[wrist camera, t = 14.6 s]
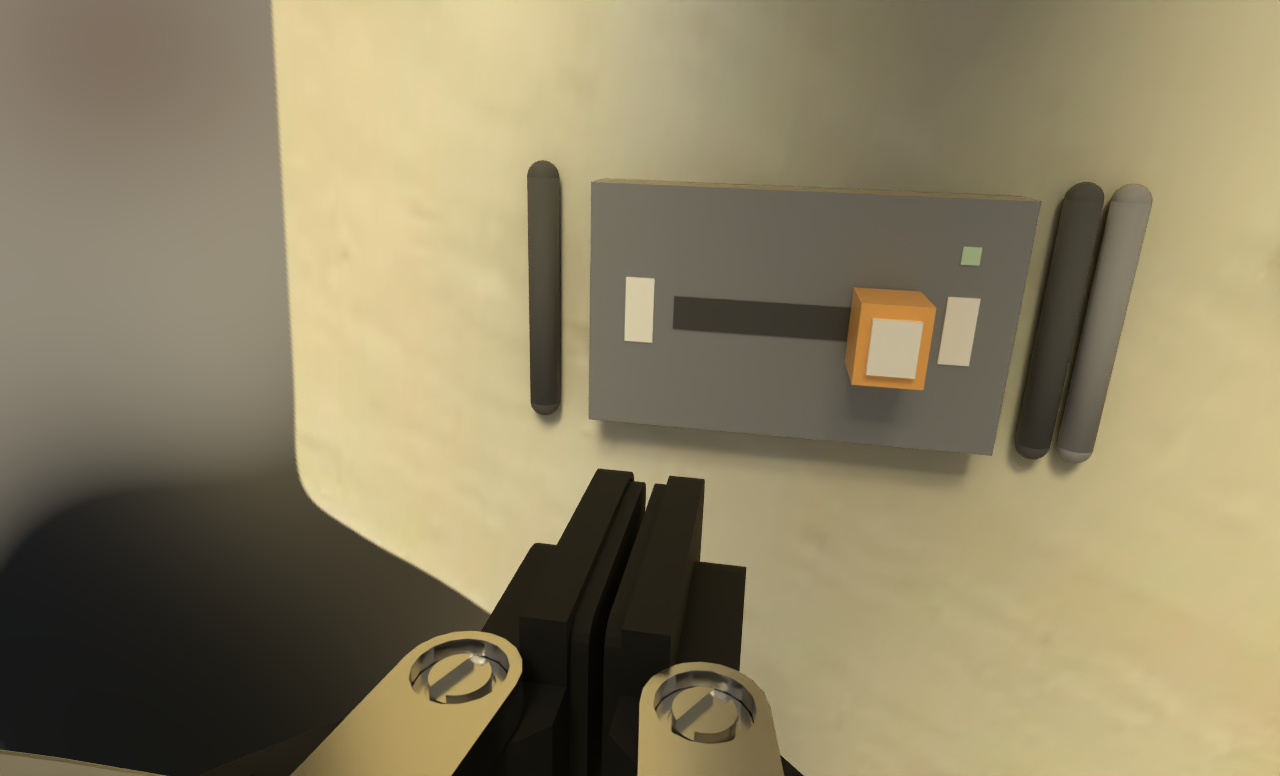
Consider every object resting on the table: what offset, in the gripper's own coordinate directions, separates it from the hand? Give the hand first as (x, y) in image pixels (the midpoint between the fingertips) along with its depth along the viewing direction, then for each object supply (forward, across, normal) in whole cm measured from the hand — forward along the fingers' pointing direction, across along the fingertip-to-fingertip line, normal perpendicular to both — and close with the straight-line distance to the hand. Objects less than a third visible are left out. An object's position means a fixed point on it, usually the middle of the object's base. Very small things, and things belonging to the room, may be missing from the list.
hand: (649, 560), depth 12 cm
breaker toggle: (+26, -7, +2) cm, 27 cm away
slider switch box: (+29, -3, +2) cm, 29 cm away
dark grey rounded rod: (+29, +10, +2) cm, 31 cm away
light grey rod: (+29, -18, +2) cm, 34 cm away
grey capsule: (+29, -16, +2) cm, 33 cm away
